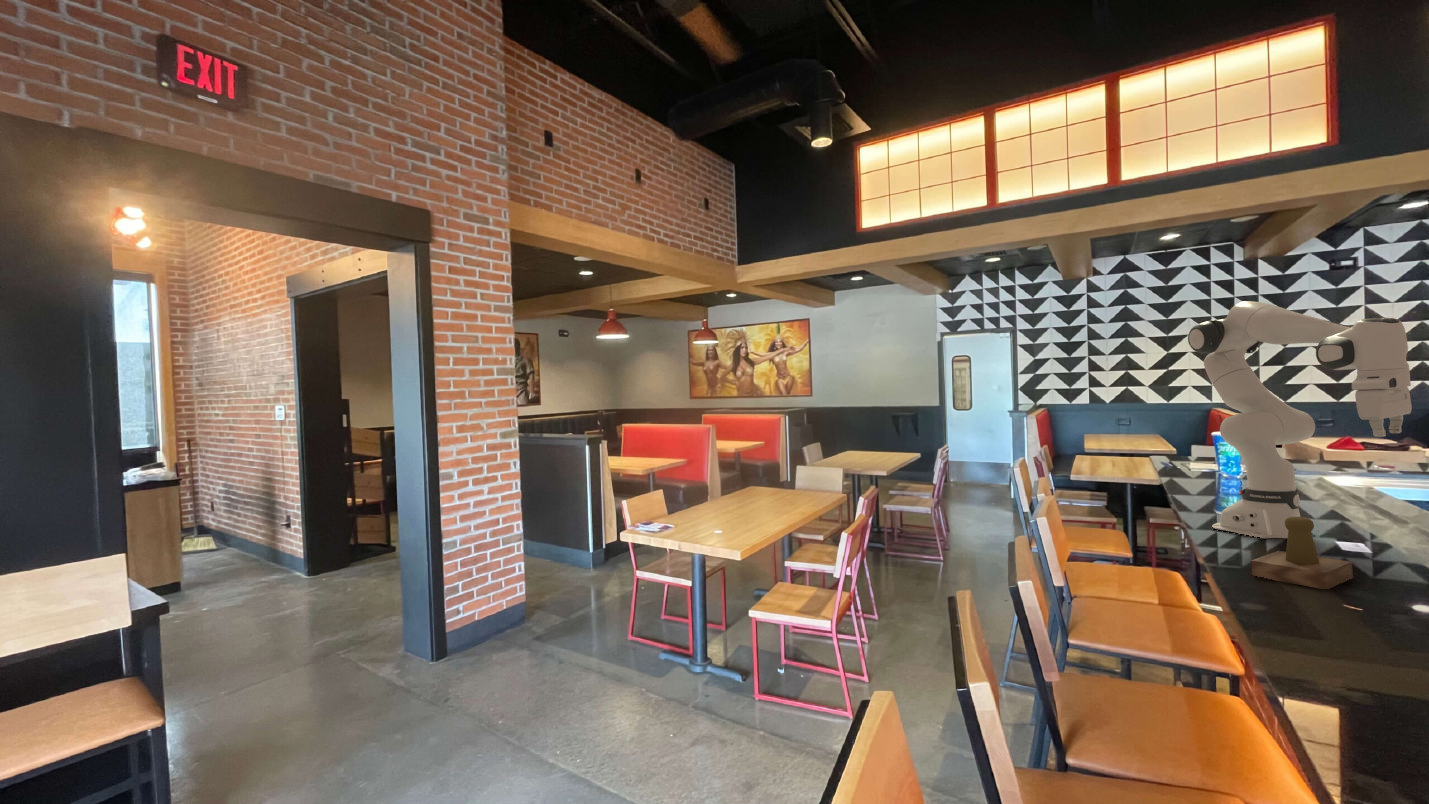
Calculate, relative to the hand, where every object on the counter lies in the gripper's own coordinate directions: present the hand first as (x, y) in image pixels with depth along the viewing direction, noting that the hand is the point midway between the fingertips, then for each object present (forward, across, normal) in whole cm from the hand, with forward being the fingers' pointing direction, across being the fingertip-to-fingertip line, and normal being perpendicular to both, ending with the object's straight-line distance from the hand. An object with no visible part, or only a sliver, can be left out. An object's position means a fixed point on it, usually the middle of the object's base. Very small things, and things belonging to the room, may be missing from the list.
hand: (1387, 434), depth 149 cm
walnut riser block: (+34, +25, -9) cm, 43 cm away
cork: (+30, +25, -9) cm, 40 cm away
